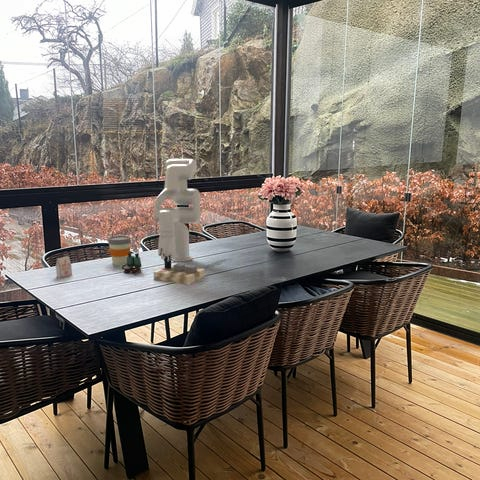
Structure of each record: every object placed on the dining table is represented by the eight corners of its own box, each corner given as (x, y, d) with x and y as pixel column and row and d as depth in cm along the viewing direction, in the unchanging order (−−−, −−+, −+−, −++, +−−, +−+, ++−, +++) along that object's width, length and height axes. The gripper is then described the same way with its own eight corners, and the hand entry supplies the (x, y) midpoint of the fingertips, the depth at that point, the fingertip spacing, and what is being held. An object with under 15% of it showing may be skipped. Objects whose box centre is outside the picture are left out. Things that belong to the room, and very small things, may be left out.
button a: (162, 275, 254) (162, 268, 253) (167, 273, 258) (166, 266, 257) (169, 276, 252) (169, 269, 251) (174, 274, 256) (173, 267, 255)
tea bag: (56, 276, 255) (55, 258, 253) (68, 273, 260) (66, 255, 258) (60, 277, 253) (59, 259, 251) (72, 275, 258) (70, 256, 256)
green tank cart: (118, 256, 257) (128, 251, 266) (120, 275, 260) (130, 269, 269) (133, 258, 254) (142, 252, 263) (135, 276, 257) (144, 270, 266)
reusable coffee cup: (112, 266, 274) (110, 241, 271) (107, 261, 285) (105, 237, 282) (134, 264, 280) (132, 238, 277) (128, 259, 291) (127, 235, 288)
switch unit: (154, 279, 249) (153, 271, 249) (171, 271, 264) (170, 264, 263) (189, 284, 241) (189, 276, 240) (204, 276, 255) (204, 268, 254)
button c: (185, 274, 248) (185, 266, 247) (189, 272, 252) (189, 264, 251) (192, 275, 246) (192, 267, 245) (197, 273, 250) (196, 265, 249)
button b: (173, 272, 251) (173, 265, 250) (178, 270, 254) (178, 263, 254) (180, 273, 249) (180, 266, 248) (185, 271, 253) (185, 264, 252)
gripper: (168, 230, 259) (169, 264, 262) (152, 235, 245) (153, 270, 249) (180, 232, 255) (181, 265, 259) (164, 237, 242) (166, 272, 246)
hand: (168, 268), depth 254 cm, fingers closed
